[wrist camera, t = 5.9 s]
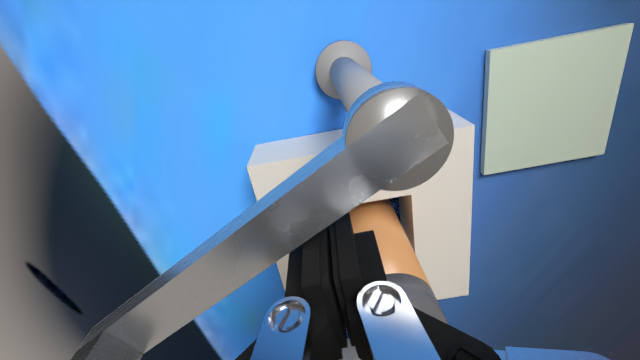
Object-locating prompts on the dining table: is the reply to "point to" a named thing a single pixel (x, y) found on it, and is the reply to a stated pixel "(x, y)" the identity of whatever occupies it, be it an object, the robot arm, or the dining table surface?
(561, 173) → the dining table surface
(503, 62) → the pad
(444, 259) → the socket block
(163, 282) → the grey ball-jointed lever
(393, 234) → the plug
